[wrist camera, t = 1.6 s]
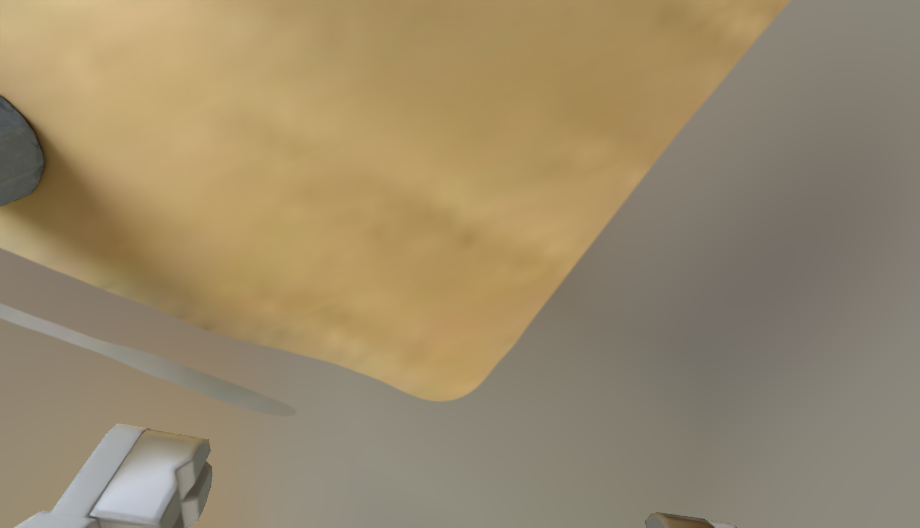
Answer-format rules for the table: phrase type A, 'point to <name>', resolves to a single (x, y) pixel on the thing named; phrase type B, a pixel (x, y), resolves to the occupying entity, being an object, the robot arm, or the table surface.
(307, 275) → the table surface
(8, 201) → the moka pot
